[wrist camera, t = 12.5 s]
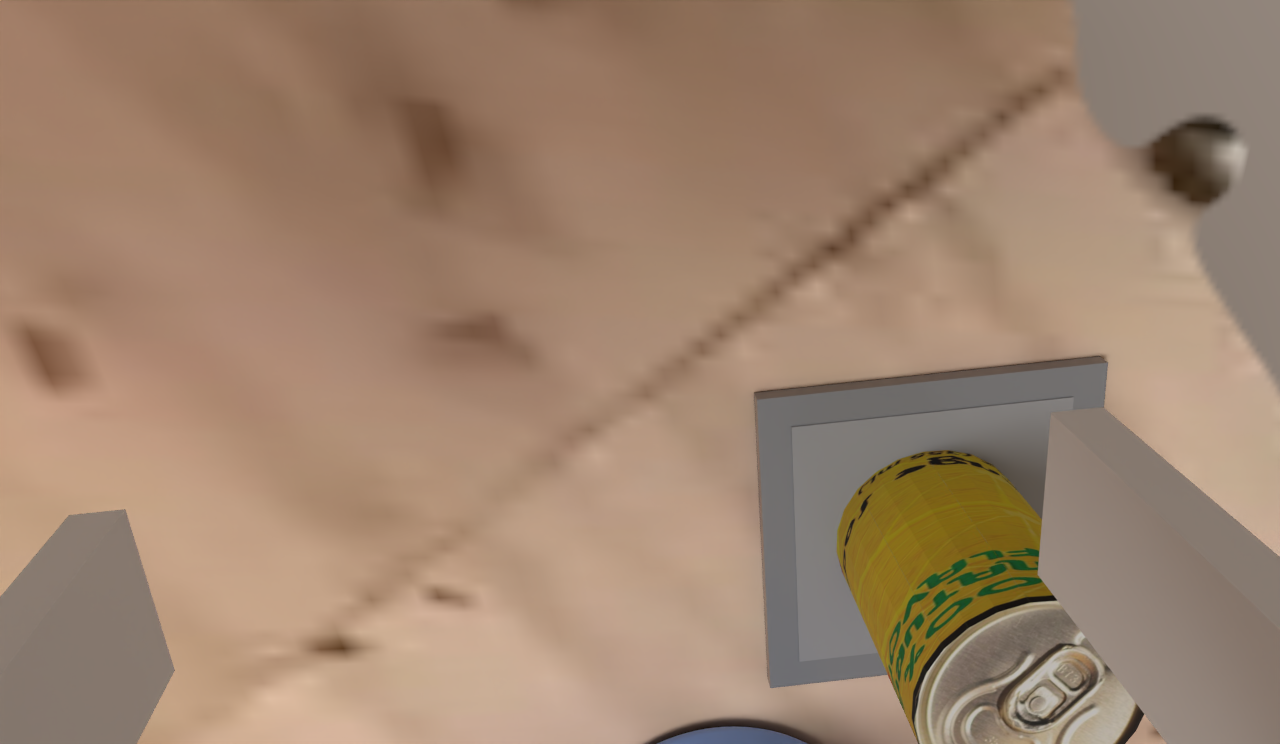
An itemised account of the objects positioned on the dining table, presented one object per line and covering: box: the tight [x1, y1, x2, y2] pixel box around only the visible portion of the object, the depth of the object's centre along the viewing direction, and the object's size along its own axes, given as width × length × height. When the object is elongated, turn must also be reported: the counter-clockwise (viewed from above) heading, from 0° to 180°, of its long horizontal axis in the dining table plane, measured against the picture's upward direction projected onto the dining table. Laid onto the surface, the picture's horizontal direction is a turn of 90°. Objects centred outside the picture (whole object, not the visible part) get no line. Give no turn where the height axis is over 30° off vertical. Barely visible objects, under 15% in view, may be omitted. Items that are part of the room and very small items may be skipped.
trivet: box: [754, 356, 1108, 688], centre depth 50 cm, size 16×16×1 cm
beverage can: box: [837, 450, 1144, 744], centre depth 44 cm, size 9×9×12 cm
